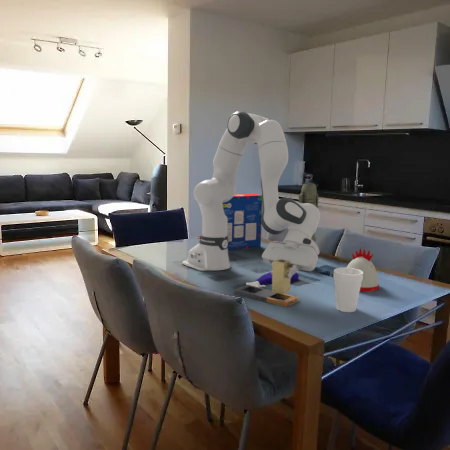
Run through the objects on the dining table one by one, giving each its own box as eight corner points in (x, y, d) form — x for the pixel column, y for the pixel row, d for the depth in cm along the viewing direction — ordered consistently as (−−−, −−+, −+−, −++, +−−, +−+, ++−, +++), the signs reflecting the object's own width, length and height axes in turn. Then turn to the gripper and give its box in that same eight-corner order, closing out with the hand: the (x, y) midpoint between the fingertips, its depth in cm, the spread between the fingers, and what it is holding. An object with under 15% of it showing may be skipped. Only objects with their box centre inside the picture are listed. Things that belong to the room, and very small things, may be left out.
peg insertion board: (234, 293, 169) (234, 289, 169) (247, 288, 175) (247, 284, 175) (286, 307, 156) (286, 302, 155) (298, 301, 162) (298, 297, 162)
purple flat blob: (280, 268, 196) (239, 279, 179) (301, 273, 188) (260, 286, 171) (280, 274, 196) (239, 287, 180) (301, 280, 189) (260, 293, 172)
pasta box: (252, 244, 254) (254, 193, 249) (260, 247, 247) (262, 195, 242) (206, 248, 242) (207, 195, 237) (213, 252, 235) (214, 197, 230)
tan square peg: (272, 291, 161) (272, 260, 159) (279, 288, 164) (279, 258, 162) (283, 294, 158) (283, 262, 156) (289, 291, 161) (290, 260, 160)
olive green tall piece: (320, 251, 240) (323, 183, 234) (305, 254, 233) (308, 184, 227) (307, 248, 247) (310, 182, 241) (292, 250, 240) (294, 183, 234)
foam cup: (328, 304, 159) (330, 267, 157) (354, 303, 160) (356, 267, 158) (337, 314, 150) (339, 275, 148) (364, 313, 151) (367, 275, 148)
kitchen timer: (373, 294, 171) (376, 254, 169) (336, 287, 179) (339, 249, 176) (382, 284, 183) (385, 247, 180) (348, 279, 190) (350, 243, 188)
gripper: (268, 234, 170) (252, 265, 164) (318, 242, 157) (303, 276, 151) (274, 244, 174) (259, 275, 168) (324, 252, 161) (309, 286, 156)
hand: (280, 275), depth 160 cm, fingers closed on tan square peg, 4 cm apart
